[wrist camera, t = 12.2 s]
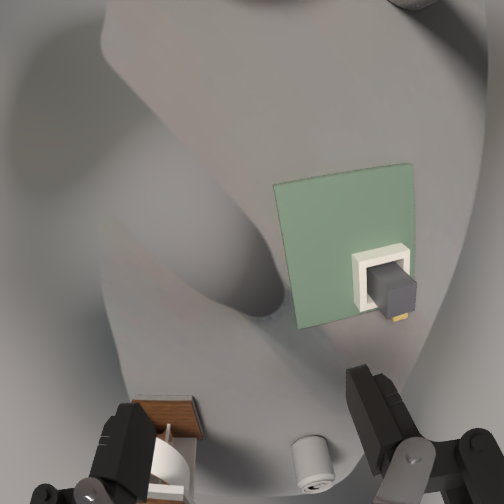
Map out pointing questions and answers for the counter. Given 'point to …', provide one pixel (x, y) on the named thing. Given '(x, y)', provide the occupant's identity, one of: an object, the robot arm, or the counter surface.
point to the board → (344, 237)
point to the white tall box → (172, 447)
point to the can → (312, 464)
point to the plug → (391, 290)
